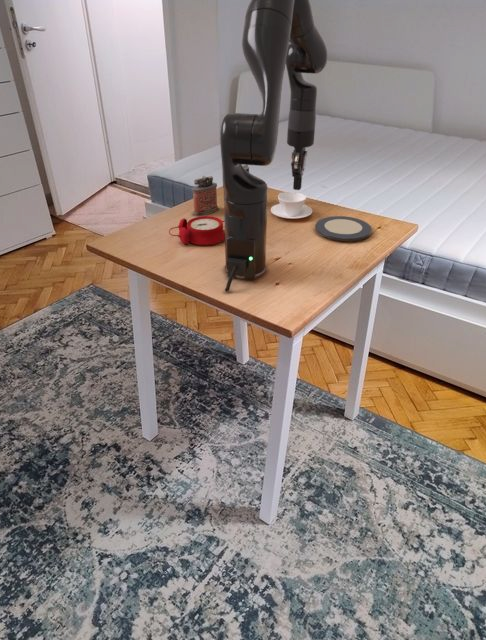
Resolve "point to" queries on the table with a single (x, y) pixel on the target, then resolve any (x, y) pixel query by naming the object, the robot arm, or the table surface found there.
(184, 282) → the table surface
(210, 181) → the lighter
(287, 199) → the teacup
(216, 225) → the alarm clock
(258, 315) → the table surface
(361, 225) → the plate
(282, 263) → the table surface
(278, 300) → the table surface
